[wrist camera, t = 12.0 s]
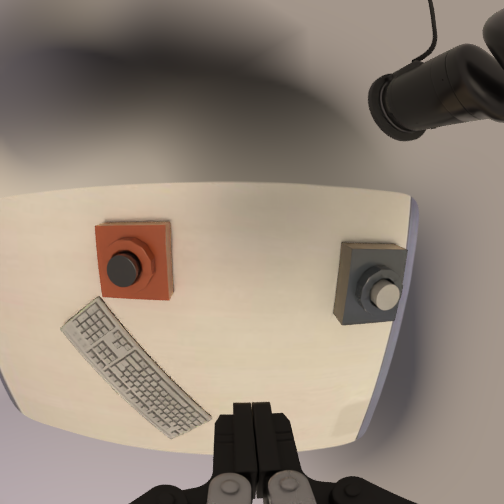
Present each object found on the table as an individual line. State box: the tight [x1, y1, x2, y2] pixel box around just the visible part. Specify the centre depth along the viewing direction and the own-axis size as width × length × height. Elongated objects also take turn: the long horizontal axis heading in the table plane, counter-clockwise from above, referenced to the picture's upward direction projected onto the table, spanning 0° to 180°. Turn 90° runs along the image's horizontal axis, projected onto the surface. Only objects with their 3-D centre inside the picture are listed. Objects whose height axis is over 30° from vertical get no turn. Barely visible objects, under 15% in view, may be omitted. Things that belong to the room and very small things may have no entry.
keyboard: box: [60, 297, 212, 439], centre depth 42 cm, size 29×10×2 cm, turn 33°
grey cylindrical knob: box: [370, 279, 400, 310], centre depth 35 cm, size 4×4×2 cm
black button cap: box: [107, 251, 141, 287], centre depth 33 cm, size 4×4×2 cm
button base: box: [95, 222, 173, 300], centre depth 36 cm, size 10×10×5 cm
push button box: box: [333, 242, 408, 325], centre depth 38 cm, size 11×9×6 cm
